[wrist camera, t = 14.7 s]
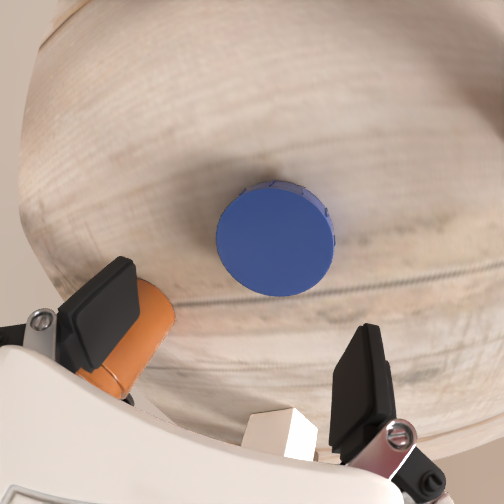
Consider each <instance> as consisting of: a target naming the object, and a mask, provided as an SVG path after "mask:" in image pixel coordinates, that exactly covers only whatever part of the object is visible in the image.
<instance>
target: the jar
mask: <svg viewBox="0 0 504 504" xmlns="http://www.w3.org/2000/svg"><path fill="white" fill-rule="evenodd" d="M137 287H138V296H139V305H140V316H139V318H138V319H137V321H136V322H135V323H134V324H133V326H132V327H131V328H130V329H129V330H128V332H127V333H126V334H125V335H124V337H123V338H122V339H121V340H120V342H119V343H118V344H117V346H116V347H115V348H114V349H113V351H112V352H111V353H110V354H109V356H108V357H107V358H106V360H105V361H104V362H103V363H102V365H101V366H100V367H99V368H98V369H95V370H94V371H93V372H92V373H91V374H90V373H89V372H87V371H85V370H84V369H82V367H81V368H80V369H79V377H80V378H82V379H84V380H85V381H87V382H88V383H90V384H92V385H94V386H95V387H97V388H99V389H101V390H102V391H104V392H106V393H108V394H110V395H111V396H113V397H115V398H117V399H119V400H120V399H125V398H126V397H127V395H128V394H129V392H130V390H131V389H132V387H133V386H134V384H135V383H136V381H137V380H138V378H139V377H140V375H141V374H142V372H143V370H144V369H145V367H146V366H147V364H148V363H149V361H150V360H151V358H152V357H153V355H154V354H155V352H156V351H157V349H158V348H159V346H160V345H161V343H162V342H163V340H164V339H165V337H166V336H167V334H168V333H169V331H170V330H171V328H172V327H173V325H174V323H175V313H174V309H173V307H172V305H171V303H170V302H169V300H168V299H167V297H166V296H165V295H164V294H163V293H162V292H161V291H160V290H159V289H158V288H156V287H155V286H154V285H152V284H151V283H149V282H147V281H144V280H141V279H137Z"/></svg>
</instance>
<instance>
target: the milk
mask: <svg viewBox="0 0 504 504" xmlns="http://www.w3.org/2000/svg"><path fill="white" fill-rule="evenodd" d="M316 436H317V428H316V427H315V426H314V425H313V424H311V423H310V422H309V421H308V420H307V419H306V418H305V417H304V416H303V415H301V414H300V413H299V412H298V411H297V410H296V409H295V408H290V409H284V410H278V411H271V412H264V413H257V414H251V415H250V418H249V421H248V424H247V428H246V431H245V434H244V437H243V440H242V443H241V447H245V448H248V449H253V450H257V451H261V452H266V453H270V454H275V455H280V456H285V457H291V458H296V459H302V460H309V461H313V456H314V449H315V443H316Z"/></svg>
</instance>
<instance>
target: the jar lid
mask: <svg viewBox="0 0 504 504" xmlns="http://www.w3.org/2000/svg"><path fill="white" fill-rule="evenodd" d="M216 244H217V250H218V253H219V256H220V259H221V261H222V263H223V265H224V266H225V268H226V269H227V271H228V272H229V273H230V274H231V275H232V277H233V278H235V279H236V280H237V281H238V282H239V283H241V284H242V285H243V286H245V287H247V288H248V289H250V290H253V291H255V292H257V293H260V294H264V295H268V296H291V295H295V294H299V293H302V292H304V291H306V290H308V289H310V288H311V287H313V286H314V285H316V284H317V283H318V282H319V281H320V280H321V279H322V278H323V277H324V275H325V274H326V272H327V271H328V269H329V267H330V265H331V262H332V259H333V254H334V246H335V235H333V227H332V222H331V219H330V216H329V214H328V209H327V208H325V207H324V205H323V204H322V203H321V202H320V200H319V199H318V198H317V197H316V196H314V195H313V194H312V193H311V192H309V191H308V190H306V189H305V187H300V186H298V185H296V184H292V183H289V182H283V181H275V180H272V181H269V182H263V183H259V184H256V185H254V186H252V187H250V188H248V189H246V188H245V189H244V190H243V191H242V192H241V193H240V194H239V196H238V197H237V198H236V199H235V200H234V201H233V202H232V203H231V204H230V205H229V206H228V207H227V208H226V209H225V211H224V212H223V214H222V215H221V218H220V220H219V223H218V226H217V232H216Z"/></svg>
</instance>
